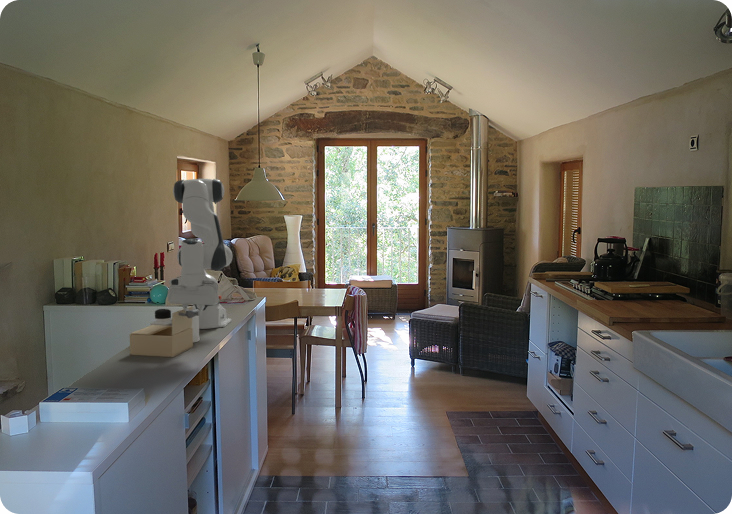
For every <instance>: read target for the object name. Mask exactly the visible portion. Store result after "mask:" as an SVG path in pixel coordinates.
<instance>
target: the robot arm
mask: <svg viewBox="0 0 732 514" xmlns="http://www.w3.org/2000/svg"><path fill="white" fill-rule="evenodd" d="M172 194H173V197H174V199H175V201H176V202H177V203H178V204H181V205H182V206H181V207H182V215H183V217H184V218H185V219H186V220H187V221H188V222H189V223H190V231H191V234H192V235H193V236H195V237H196V238H193V237H192V238H191V237H190V238H186V239H183V240H182V241H181V247H180V248H179V249H178V251H177V253H176V259H177V262H178V265H179V266H180V267H181V270H180V276H177V277H175V278H171V279H169V281H168V285H169V287H168V288H167V301H168V302H169V304H176V305H177V304H178V305H181V306H182V310H183V309H184V310H185V313H188V312H190V311H191V310H189V309H188V307H189V305H192V306H193V308H192V310H196V309H198V310H199V311H197V316H199V330H201V329H202V330H205V329H206V330H208V329H216V328H225V327H226V326H227V325H229V324H230V323H231V322H232V318H229V317H227V309H226V308H224V307H223V305H221V304H220V303H221V300H222V295H219V283H218V281H217V279H216V278H215V276H213V275H210V274H209V273H207V271H206V270H211V271H221V270H223V269H224V268H225V267H228V266H230V264H232V261H233V252H232V250H231V248H230V247H229V246H227V245H226V244H225V243H224V239H223V235H222V229H221V226H220V221H219V218H218V215H217V213H215V207H214V204H215V205H216V204H217V203H220V202H221V201H222V200H223V199H224V198H223V197H224V196H225V186H224V184H223V182H222V180H220V179H217V178H213V179H210V178H194V179H186V180H184V179H180V180H177V181H175V182H174V185H173V189H172Z"/></svg>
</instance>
